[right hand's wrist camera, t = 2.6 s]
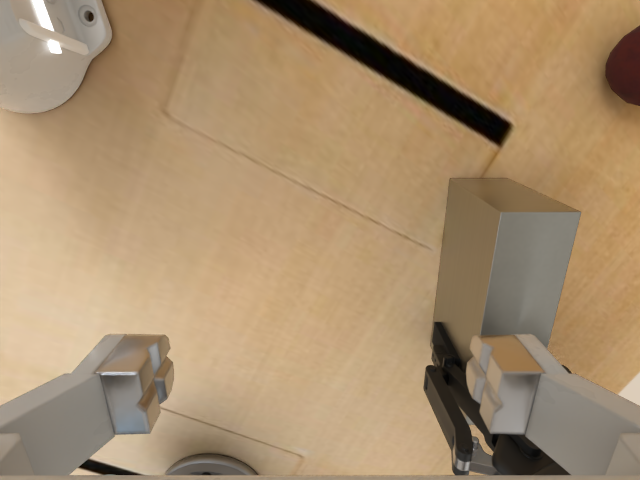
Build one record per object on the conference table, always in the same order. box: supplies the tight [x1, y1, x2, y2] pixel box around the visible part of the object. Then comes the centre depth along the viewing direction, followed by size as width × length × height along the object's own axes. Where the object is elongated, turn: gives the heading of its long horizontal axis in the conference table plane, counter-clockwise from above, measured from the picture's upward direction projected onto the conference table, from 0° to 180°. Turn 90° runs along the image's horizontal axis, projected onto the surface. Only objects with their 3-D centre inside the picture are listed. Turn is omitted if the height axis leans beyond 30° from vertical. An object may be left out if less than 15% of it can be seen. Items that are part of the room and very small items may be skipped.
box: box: [430, 178, 581, 425], centre depth 39 cm, size 21×6×12 cm, turn 0°
